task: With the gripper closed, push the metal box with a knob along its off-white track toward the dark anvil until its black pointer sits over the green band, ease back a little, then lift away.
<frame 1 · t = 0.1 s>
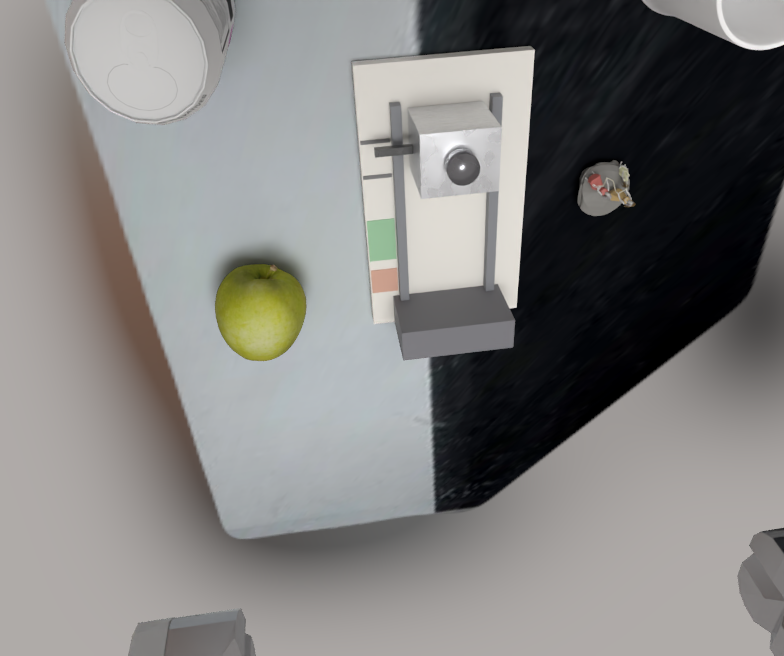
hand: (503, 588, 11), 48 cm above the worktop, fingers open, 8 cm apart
apple: (262, 283, 62), on the worktop
metal box with knob: (434, 153, 52), point 5 cm above the worktop, slide at 0.0 cm
gauge board: (442, 196, 59), on the worktop
figurine: (596, 179, 61), on the worktop
supplement can: (177, 2, 48), on the worktop
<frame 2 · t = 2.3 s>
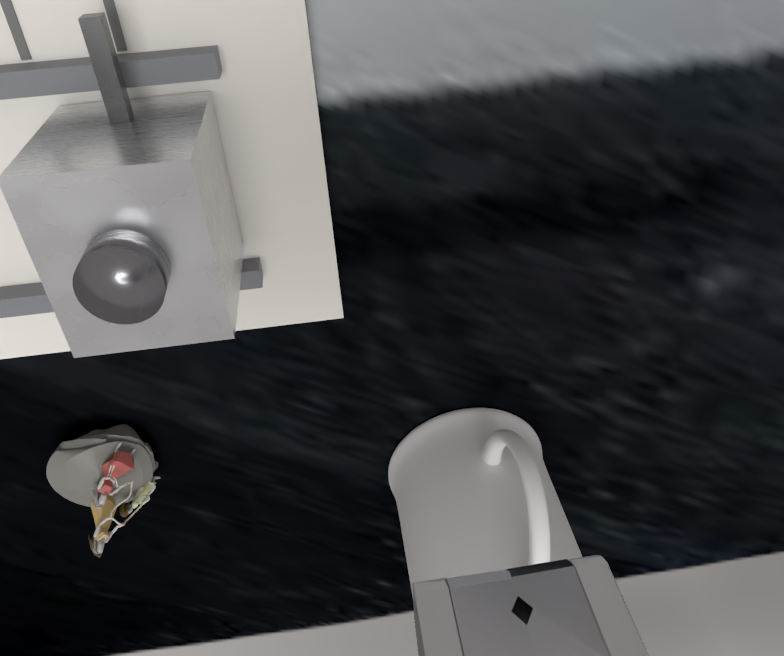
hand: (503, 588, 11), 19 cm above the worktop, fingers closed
mug: (470, 439, 36), on the worktop
metal box with knob: (128, 184, 21), point 5 cm above the worktop, slide at 0.0 cm
figurine: (115, 443, 34), on the worktop
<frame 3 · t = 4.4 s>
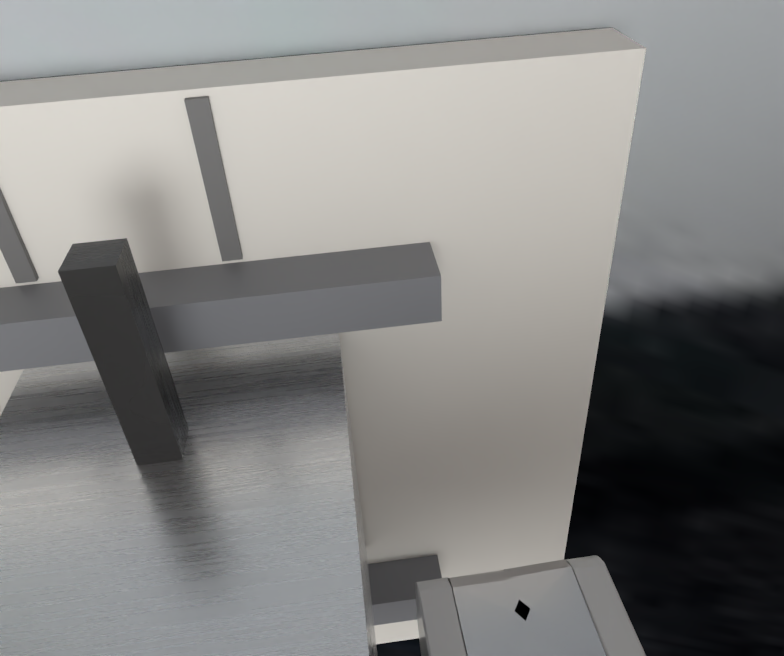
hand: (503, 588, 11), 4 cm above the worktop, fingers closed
metal box with knob: (176, 602, 9), point 5 cm above the worktop, slide at 1.1 cm, touching gripper
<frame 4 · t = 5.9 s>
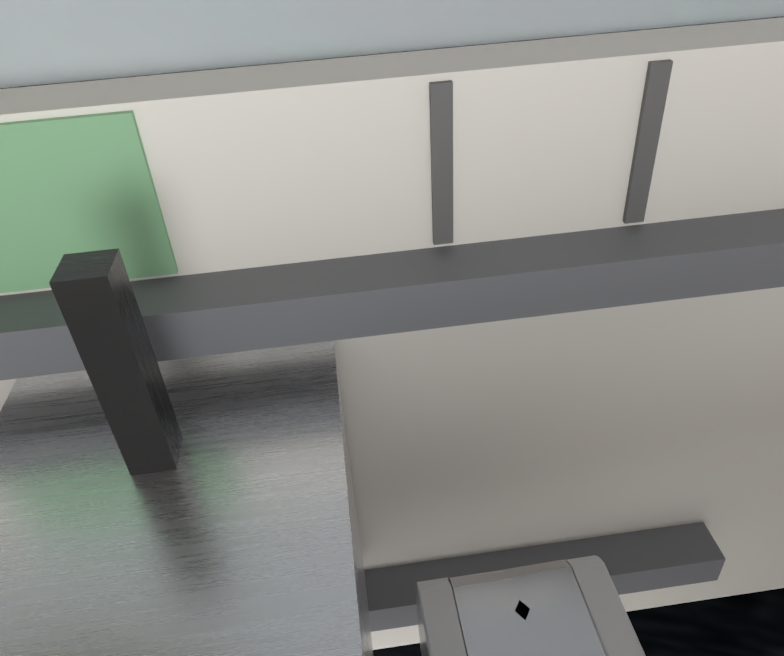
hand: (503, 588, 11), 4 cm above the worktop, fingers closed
metal box with knob: (170, 613, 9), point 5 cm above the worktop, slide at 7.4 cm, touching gripper
gauge board: (289, 422, 14), on the worktop
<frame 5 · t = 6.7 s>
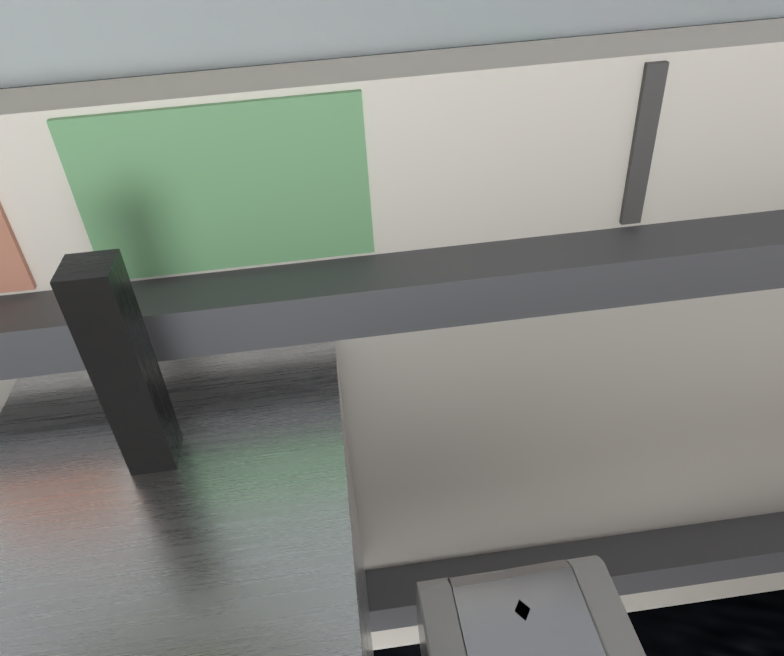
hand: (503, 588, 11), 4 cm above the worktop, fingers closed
metal box with knob: (170, 613, 9), point 5 cm above the worktop, slide at 10.3 cm, touching gripper
gauge board: (431, 404, 14), on the worktop
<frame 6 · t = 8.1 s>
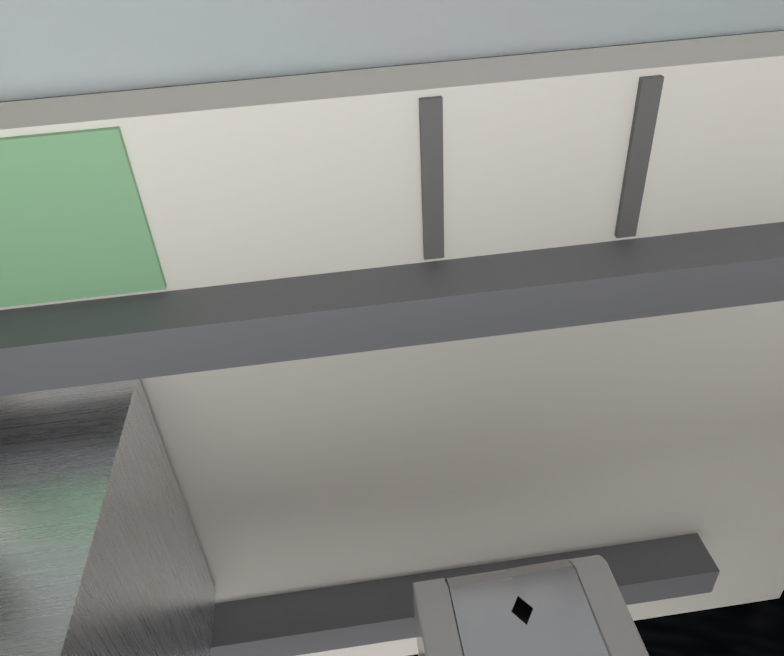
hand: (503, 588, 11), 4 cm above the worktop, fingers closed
gauge board: (280, 435, 14), on the worktop
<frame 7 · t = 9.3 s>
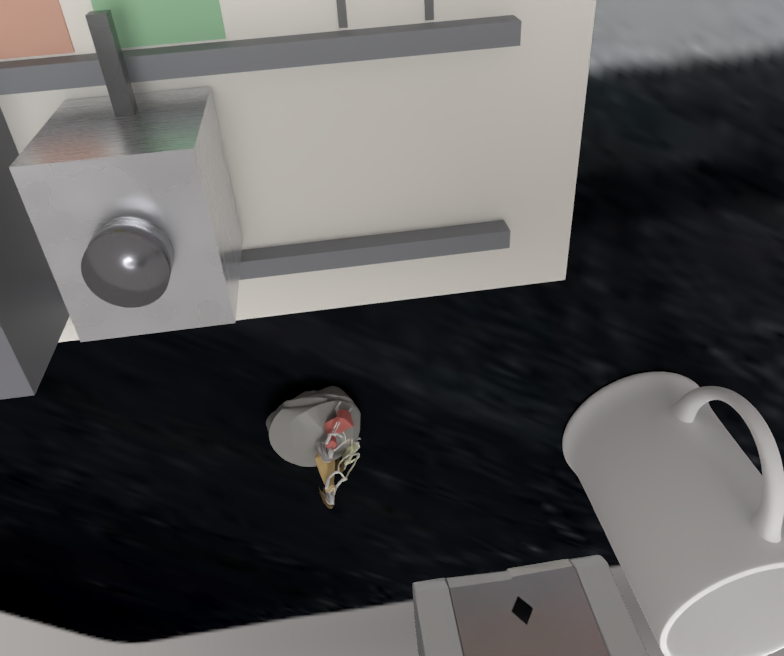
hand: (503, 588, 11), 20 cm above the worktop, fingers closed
mug: (642, 404, 38), on the worktop
metal box with knob: (132, 174, 21), point 5 cm above the worktop, slide at 10.3 cm
gauge board: (276, 149, 27), on the worktop
figurine: (318, 406, 35), on the worktop
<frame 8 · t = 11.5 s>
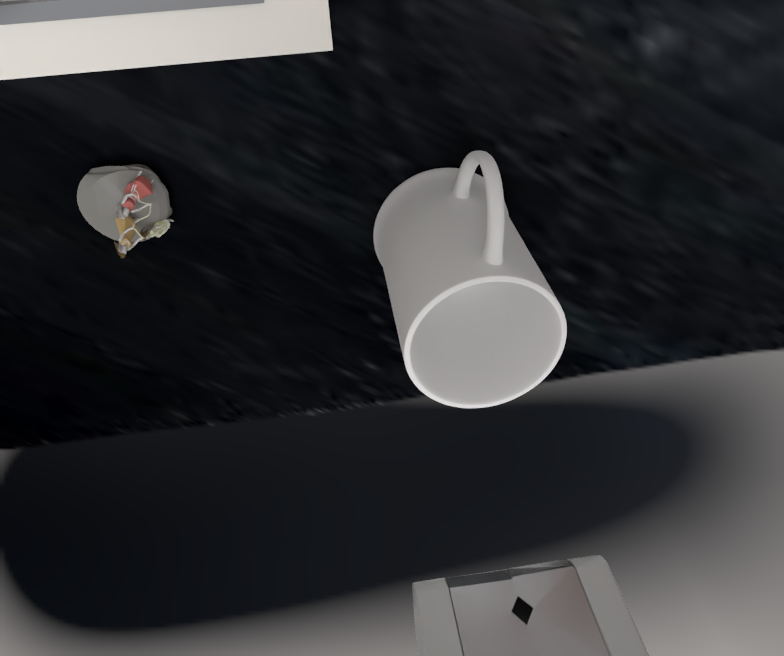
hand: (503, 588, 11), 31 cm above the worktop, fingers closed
mug: (446, 206, 42), on the worktop
figurine: (134, 190, 39), on the worktop
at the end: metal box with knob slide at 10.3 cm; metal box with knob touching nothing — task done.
